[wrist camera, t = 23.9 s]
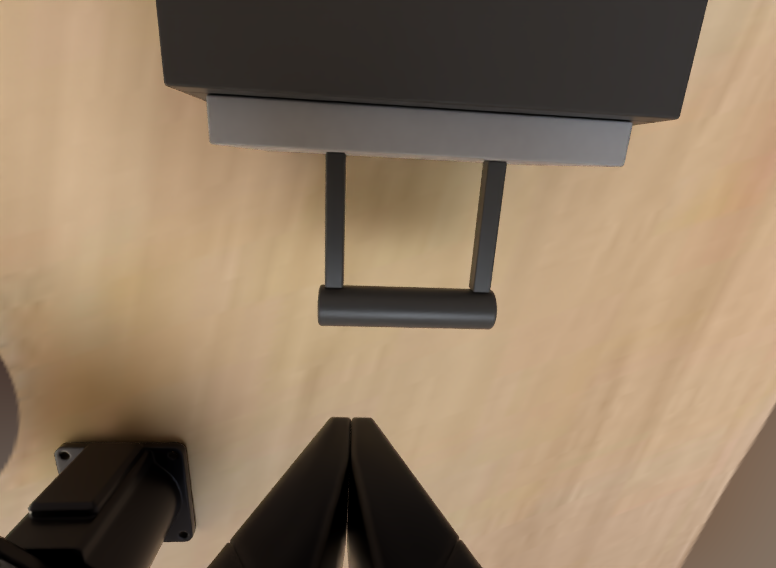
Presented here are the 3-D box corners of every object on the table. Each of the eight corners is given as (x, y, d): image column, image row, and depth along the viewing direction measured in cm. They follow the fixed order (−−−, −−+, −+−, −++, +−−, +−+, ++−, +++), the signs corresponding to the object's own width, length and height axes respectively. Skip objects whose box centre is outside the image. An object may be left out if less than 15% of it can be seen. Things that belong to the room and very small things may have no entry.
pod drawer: (510, 287, 19) (585, 350, 13) (271, 279, 19) (223, 343, 12) (587, -241, 14) (788, -597, 7) (251, -286, 13) (141, -737, 6)
